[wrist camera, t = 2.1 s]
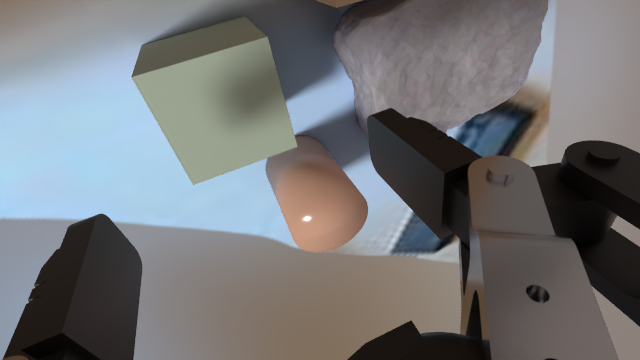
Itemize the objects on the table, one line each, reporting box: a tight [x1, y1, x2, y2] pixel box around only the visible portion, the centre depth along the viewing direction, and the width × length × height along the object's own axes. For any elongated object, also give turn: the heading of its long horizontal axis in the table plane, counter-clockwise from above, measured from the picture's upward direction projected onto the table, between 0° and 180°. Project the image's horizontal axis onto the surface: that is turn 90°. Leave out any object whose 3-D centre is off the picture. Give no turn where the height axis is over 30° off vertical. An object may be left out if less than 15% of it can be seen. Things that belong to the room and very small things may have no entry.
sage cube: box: [132, 16, 298, 185], centre depth 15 cm, size 5×5×5 cm
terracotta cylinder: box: [266, 136, 368, 252], centre depth 19 cm, size 4×4×6 cm
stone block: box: [333, 0, 548, 138], centre depth 20 cm, size 12×5×10 cm
